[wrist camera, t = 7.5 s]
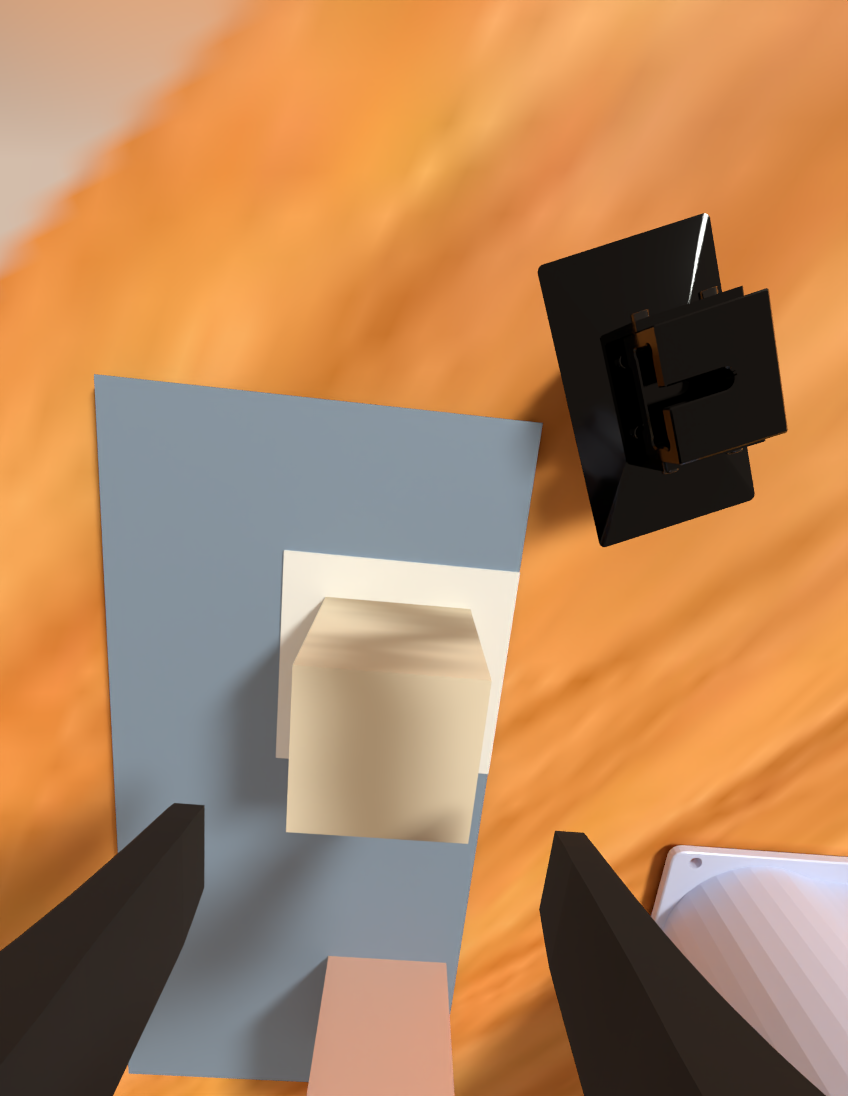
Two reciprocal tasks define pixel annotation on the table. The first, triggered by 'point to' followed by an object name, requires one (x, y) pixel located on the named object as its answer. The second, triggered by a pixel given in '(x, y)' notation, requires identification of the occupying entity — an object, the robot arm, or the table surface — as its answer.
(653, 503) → the build plate
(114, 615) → the board
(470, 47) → the table surface
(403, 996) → the terracotta cube
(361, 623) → the maple cube
